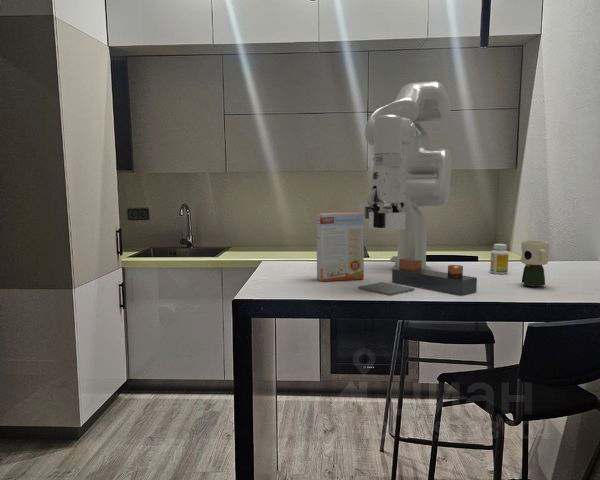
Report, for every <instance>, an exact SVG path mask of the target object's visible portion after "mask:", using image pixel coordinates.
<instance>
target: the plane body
mask: <svg viewBox="0 0 600 480" xmlns="http://www.w3.org/2000/svg"><path fill="white" fill-rule="evenodd" d="M463 272H464V266H463V265H462V264H461V265H460V264H448V265H447V272H441V271H436V270H431V269H430V270H425V269H422V260H415V259H408V258H404V259H399V268H397V269H393V268H392V271H391V283H393V282H395V283H394V284H398V283H400V285H404V284H406V285H405V286H409V285H411V286H410V287H414V286H417V287H416V288H419V287H423V288H422V289H425V288H427V289H426V290H430V289H432V290H431V291H435V290H436V291H437V292H440V291H441V293H446V294H451V295H456V296H465V295H470V294H474V293H476V292H477V290H478V289H477V287H478V285H477V283H478V278H477V277H475V276H471V275H470V276H469V275H464V273H463Z"/></svg>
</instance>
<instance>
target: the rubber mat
mask: <svg viewBox="0 0 600 480" xmlns="http://www.w3.org/2000/svg"><path fill="white" fill-rule="evenodd" d="M358 288H359V290H362V289H364V290H363V291H367V290H369V291H368V292H372V291H373V292H372V293H376V292H377V293H376V294H381V293H382V295H385V294H386V296H390V295H391V296H394V294H396V295H399V294H398V293H401V294H404V293H403V292H405V293H408V291H410V292H414V291H415V287H414V288H413V287H410V286H404V285H399V284H395V283H394V284H393V283H389V282H383V281H382V282H375V283H371V284H365V285H360V286H358V287H357V289H358ZM413 290H414V291H413Z"/></svg>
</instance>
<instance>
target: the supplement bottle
mask: <svg viewBox="0 0 600 480" xmlns="http://www.w3.org/2000/svg"><path fill="white" fill-rule="evenodd" d="M507 249H508V248H507V244H505V243H494V244H493V250H491V252H490V271H489V272H490V273H491V274H494V275H495V274H496V275H507V274H508V271H509V251H508V250H507ZM506 273H507V274H506Z"/></svg>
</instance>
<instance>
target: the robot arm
mask: <svg viewBox="0 0 600 480" xmlns="http://www.w3.org/2000/svg"><path fill="white" fill-rule="evenodd" d="M451 107H452V106H451V100H450V97H449V94H448V93H447V91H446V88H445V86H444V85H443V84H442V83H441V82H439V81H436V80H432V81H421V82H412V83H407V84H405V85H403V86H402V88H401V89H400V90H399V92H398V94H397V96H396V98H395V99H394V101H392V102H390V103H387V104H385V105H384V106H381V107H380V108H377V109H376V110H374V111H373V112H372V113H371V115H370V117H369V118H368V120H367V122H366V124H365V127H364V136H365V137H364V138H365V141H366V142H367V144H369V145H371V146H373V156H372V161H373V166H372V169H371V177H370V188H369V190H370V191H369V194H368V196H367V197H366V199H365V200H366V203H367V204H368V206H369V208H370V209H371V212H372V213H374V223H373V226H374V228H383V224H384V213H382V211H383V209H384V207H385V204H389V205H390V209H392V212H405V213H406V218H405V229H398V230H397V255H396V256H394V255H393V256H391V257H390V259H389V261H390V262H391V263H394V265H393V267H392V269H397V268H399V259H404V258H408V259H415V260H422V269H425V270H431V267H430V266H428V265H427V234H428V233H427V229H428V227H427V226H428V222H427V221H428V219H427V217H426V215H425V213H424V212H423V211H422V209H420V207H444V206H445V205H447V204H448V202H449V200H450V192H451V190H450V189H451V178H452V163H453V162H452V155H451V153H450V151H449V150H448V149H446V148H443V147H431V143H432V141H431V140H432V135H431V134H430V132H429V131H428V130H427V128H425V127H424V126H423V125H422V124H421V123H423V122H441V121H446V119H448V118H449V116H450V114H451ZM420 122H421V123H420ZM404 145H405V146H404ZM403 146H404V147H405V148H404V157H403V155H402V154H403ZM402 159H403V166H402ZM405 174H406V175H407V176H410V177H405Z"/></svg>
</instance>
